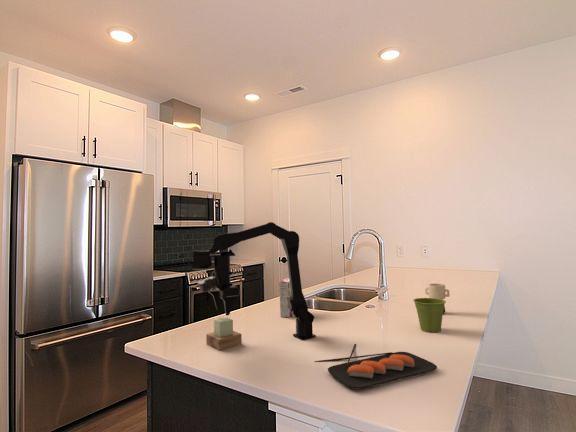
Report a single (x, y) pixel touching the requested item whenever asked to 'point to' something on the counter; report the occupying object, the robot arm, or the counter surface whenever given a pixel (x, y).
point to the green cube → (223, 327)
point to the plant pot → (430, 313)
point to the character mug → (437, 292)
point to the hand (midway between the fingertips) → (222, 312)
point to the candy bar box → (285, 297)
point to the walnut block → (223, 340)
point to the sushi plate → (378, 368)
